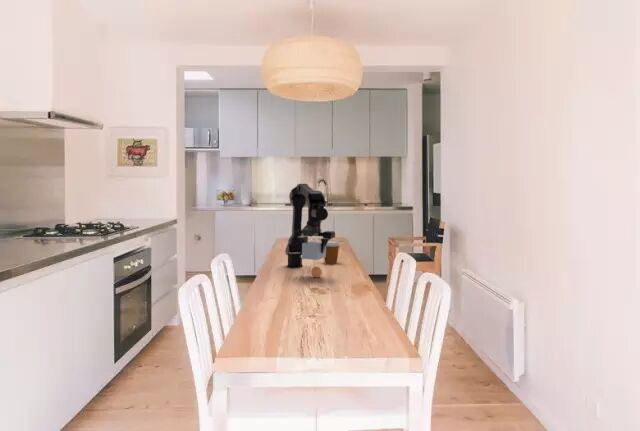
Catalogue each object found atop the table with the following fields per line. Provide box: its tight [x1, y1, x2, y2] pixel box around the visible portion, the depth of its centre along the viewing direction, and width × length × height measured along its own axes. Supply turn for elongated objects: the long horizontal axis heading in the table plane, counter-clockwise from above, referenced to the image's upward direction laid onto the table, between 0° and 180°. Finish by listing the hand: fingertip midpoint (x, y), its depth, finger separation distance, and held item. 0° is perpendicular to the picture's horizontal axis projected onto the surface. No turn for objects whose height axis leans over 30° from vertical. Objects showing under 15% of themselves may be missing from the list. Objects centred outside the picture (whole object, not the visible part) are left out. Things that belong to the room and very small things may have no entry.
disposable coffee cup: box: [323, 240, 341, 266], centre depth 265 cm, size 10×10×12 cm
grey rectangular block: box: [301, 240, 326, 261], centre depth 226 cm, size 8×10×7 cm
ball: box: [310, 266, 323, 278], centre depth 229 cm, size 5×5×5 cm
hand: (314, 252), depth 226 cm, fingers closed on grey rectangular block, 8 cm apart
